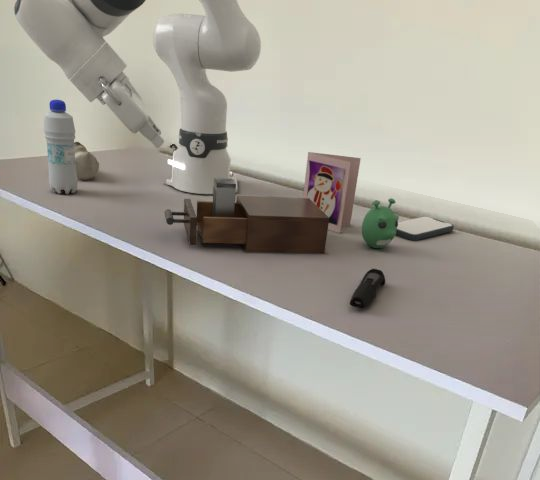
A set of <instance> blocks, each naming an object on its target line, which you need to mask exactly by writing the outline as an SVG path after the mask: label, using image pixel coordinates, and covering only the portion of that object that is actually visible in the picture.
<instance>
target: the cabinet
mask: <svg viewBox="0 0 540 480" xmlns="http://www.w3.org/2000/svg"><path fill="white" fill-rule="evenodd" d="M235 202H238V203H239V204H240V206H241V208H242V209H243V211H244V212H245V214H246V216H247V217H248V225H247V238H246V244H242V246H243V248H244V250H245V252H246V253H272V254H273V253H277V254H279V253H280V254H283V253H284V254H325V251H326V246H327V238H328V232H329V231H328V230H329V229H328V224H329V217H328V216H327V215H326V214H325V213H324V212H323V211H322V210H321V209H320V208H319V207H318V206H317V205H316V204H315V203H313V202H312V201H311V200H310V199H309V198H303V197H285V196H284V197H283V196H260V195H259V196H258V195H236V196H235Z"/></svg>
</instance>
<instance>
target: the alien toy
mask: <svg viewBox="0 0 540 480" xmlns="http://www.w3.org/2000/svg"><path fill="white" fill-rule="evenodd" d="M387 201H388V203H389V204H388V206H385V205H380V204H381V201H380V200H377V199H374V201H372V203H371V204H372V206H374V207H372V208H371V209H369V210H368V211H367V213H366V214H365V215H364V217H363V220H362V223H361V232H362V233H361V234H362V238H363V241H364V242H365V243H366V244H367V245H368V246H370V247H371V248H374V249H383V248H385V247H387V246H389V244H390V243H391V242H392V241H393V239H394V238H395V237H397V235H396V230H397V226H398V222H399V218H400V215H397V214H396V213H395V212H394V211H393V209H391V207H392V205H393V204H396V200H395V199H394V198H391V197H390V198H388V199H387Z"/></svg>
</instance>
